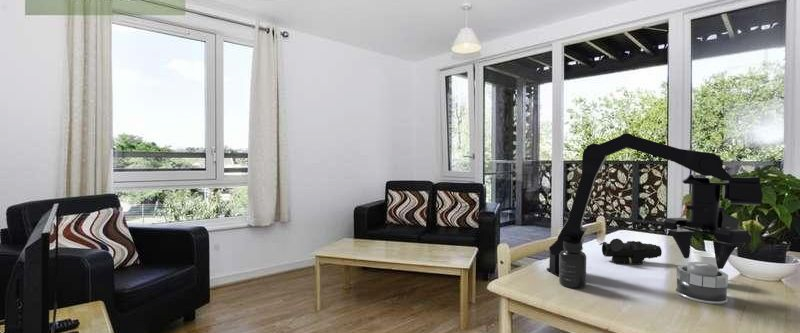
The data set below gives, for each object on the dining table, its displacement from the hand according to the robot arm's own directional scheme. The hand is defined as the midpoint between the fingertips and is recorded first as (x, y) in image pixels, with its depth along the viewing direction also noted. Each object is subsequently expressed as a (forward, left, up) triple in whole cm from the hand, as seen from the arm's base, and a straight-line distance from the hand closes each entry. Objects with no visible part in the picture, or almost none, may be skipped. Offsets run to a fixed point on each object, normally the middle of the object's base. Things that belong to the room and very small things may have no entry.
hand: (702, 263), depth 97 cm
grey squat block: (0, 0, -5) cm, 5 cm away
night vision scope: (+5, +30, -9) cm, 32 cm away
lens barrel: (0, 0, -9) cm, 9 cm away
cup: (+13, +10, -9) cm, 19 cm away
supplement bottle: (-28, +12, -9) cm, 32 cm away
